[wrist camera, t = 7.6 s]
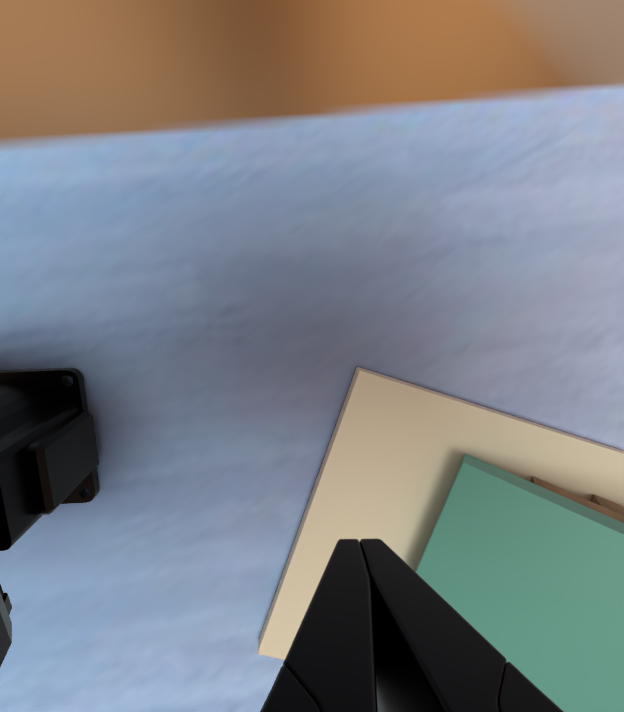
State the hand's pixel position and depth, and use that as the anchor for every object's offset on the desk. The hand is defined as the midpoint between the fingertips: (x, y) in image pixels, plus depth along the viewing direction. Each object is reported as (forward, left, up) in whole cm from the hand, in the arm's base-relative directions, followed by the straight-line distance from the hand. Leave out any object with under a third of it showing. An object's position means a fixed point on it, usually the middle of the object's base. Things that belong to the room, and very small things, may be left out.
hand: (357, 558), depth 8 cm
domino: (+5, -8, -11) cm, 14 cm away
